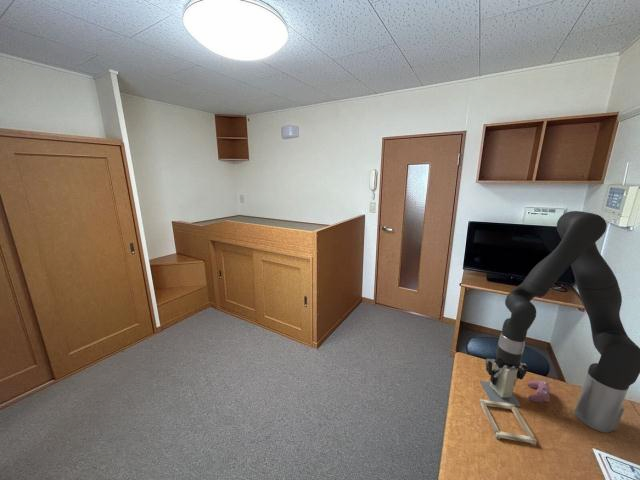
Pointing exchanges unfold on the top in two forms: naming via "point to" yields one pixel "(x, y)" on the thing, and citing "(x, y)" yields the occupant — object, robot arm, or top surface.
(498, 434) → the wooden rectangular frame
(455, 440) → the top surface
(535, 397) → the video game controller
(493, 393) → the coaster
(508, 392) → the skincare box
